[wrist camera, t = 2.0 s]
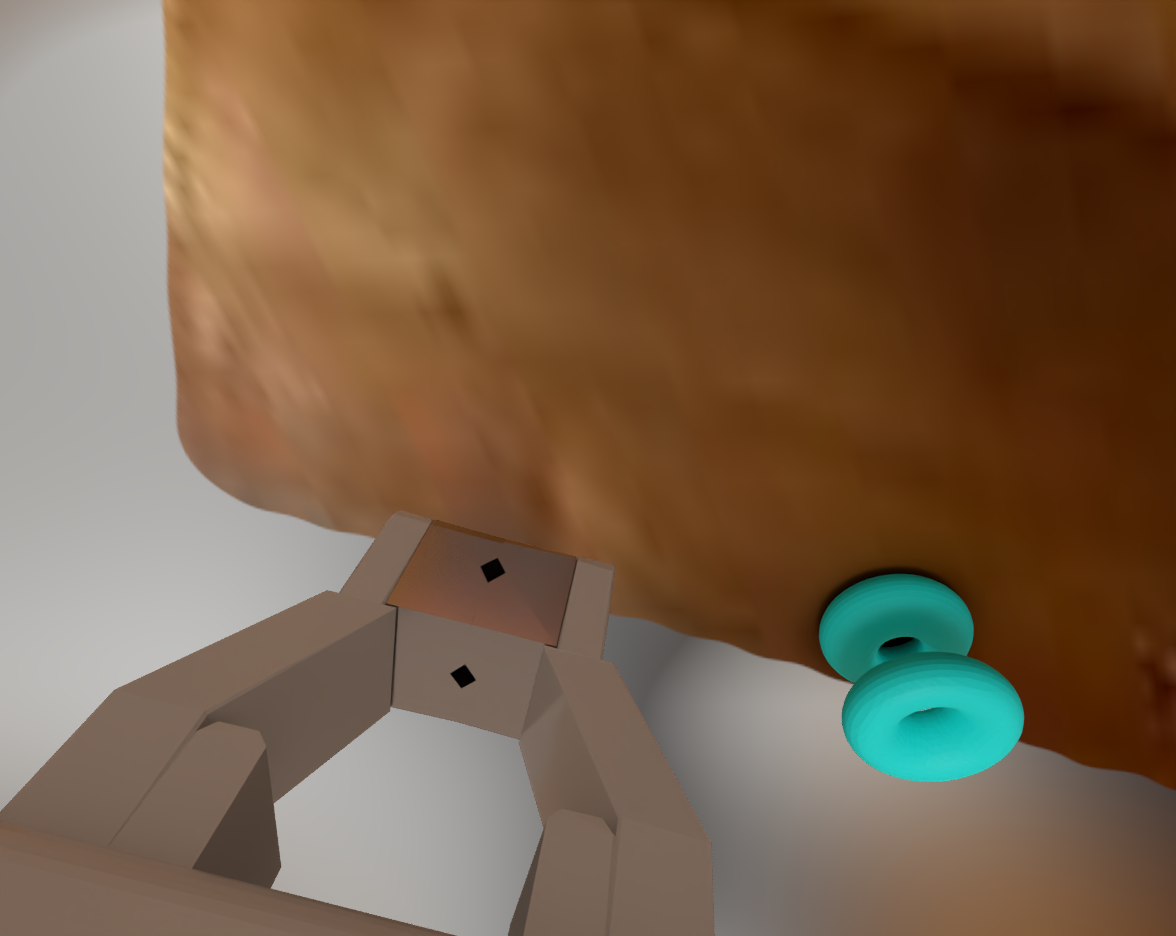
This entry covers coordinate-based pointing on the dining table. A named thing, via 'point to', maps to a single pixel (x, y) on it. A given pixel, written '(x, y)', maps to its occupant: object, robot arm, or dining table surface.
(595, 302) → the dining table surface
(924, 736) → the donuts
